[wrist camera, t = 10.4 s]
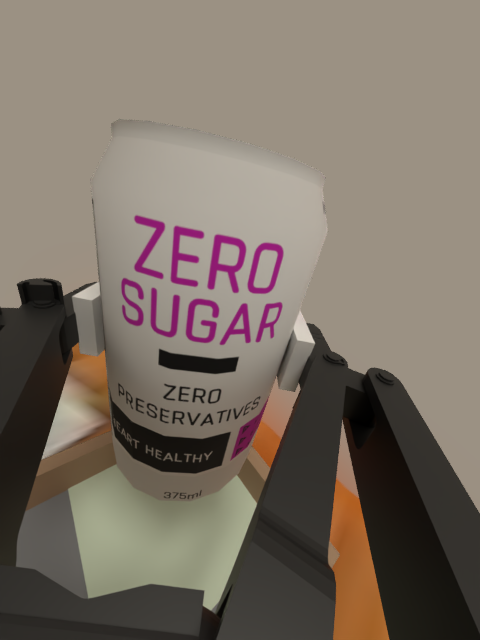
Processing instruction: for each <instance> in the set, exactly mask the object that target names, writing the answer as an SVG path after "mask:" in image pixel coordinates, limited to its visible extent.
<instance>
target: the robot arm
mask: <svg viewBox="0 0 480 640" xmlns="http://www.w3.org/2000/svg"><path fill="white" fill-rule="evenodd" d="M17 286H18V290H19V294H20V298H21V302H22V305H21V306H20V308H0V640H333V631H334V617H335V603H336V582H335V576H334V572H333V570H332V569H331V567H330V566H329V563H328V548H329V539H330V530H331V520H332V511H333V501H334V492H335V483H336V472H337V463H338V454H339V445H340V435H341V426H342V419H343V424H344V429H345V433H346V438H347V443H348V447H349V452H350V457H351V461H352V466H353V471H354V475H355V480H356V484H357V489H358V494H359V499H360V504H361V508H362V513H363V518H364V522H365V527H366V532H367V536H368V541H369V546H370V550H371V555H372V560H373V564H374V569H375V574H376V578H377V583H378V588H379V592H380V597H381V602H382V606H383V611H384V616H385V621H386V625H387V630H388V635H389V639H390V640H480V513H479V512H478V510H477V508H476V507H475V505H474V503H473V502H472V500H471V498H470V497H469V495H468V493H467V492H466V490H465V488H464V487H463V485H462V484H461V482H460V480H459V478H458V477H457V475H456V473H455V472H454V470H453V468H452V466H451V465H450V463H449V462H448V460H447V458H446V457H445V455H444V453H443V451H442V450H441V448H440V446H439V445H438V443H437V441H436V440H435V439H434V436H433V435H432V433H431V432H430V430H429V428H428V426H427V425H426V423H425V421H424V420H423V418H422V416H421V415H420V413H419V411H418V410H417V408H416V406H415V405H414V403H413V401H412V400H411V398H410V396H409V395H408V393H407V391H406V390H405V388H404V386H403V385H402V383H401V382H400V381H399V379H397V378H396V377H395V376H394V375H393V374H391V373H389V372H388V371H386V370H382V369H378V368H370V369H369V370H368V371H367V373H366V374H365V375H364V374H361V373H358V372H356V371H353V370H351V369H349V368H348V364H347V361H346V360H345V359H344V358H343V357H342V356H340V355H338V354H337V353H335V352H332V351H331V350H330V348H329V346H328V344H327V342H326V341H325V338H324V337H323V335H322V333H321V331H320V329H318V328H317V327H316V326H315V325H314V324H308V323H306V322H305V320H304V317H303V315H302V313H301V311H299V314H298V317H297V320H296V322H295V325H294V328H293V331H292V334H291V336H290V339H289V342H288V345H287V348H286V351H285V353H284V356H283V359H282V362H281V365H280V367H279V370H278V373H277V379H278V386H279V389H282V390H287V391H293V392H295V390H296V388H297V385H298V383H299V384H300V388H301V390H300V393H299V395H298V397H297V399H296V402H295V404H294V406H293V410H292V413H291V416H290V418H289V421H288V423H287V426H286V429H285V431H284V434H283V437H282V439H281V442H280V445H279V447H278V450H277V453H276V455H275V458H274V460H273V463H272V466H271V468H270V471H269V474H268V476H267V479H266V482H265V484H264V487H263V490H262V492H261V495H260V497H259V500H258V503H257V505H256V508H255V511H254V513H253V516H252V519H251V521H250V524H249V527H248V529H247V532H246V534H245V537H244V540H243V542H242V545H241V548H240V550H239V553H238V556H237V558H236V561H235V563H234V566H233V569H232V571H231V574H230V576H229V578H228V581H227V583H226V586H225V588H224V591H223V593H222V596H221V598H220V601H219V604H218V606H217V609H216V611H215V613H214V612H212V611H211V610H209V609H207V608H206V607H204V606H203V599H204V591H205V590H197V589H189V588H181V587H173V586H165V585H157V584H148V585H144V586H140V587H135V588H131V589H127V590H123V591H119V592H115V593H110V594H106V595H102V596H98V597H94V598H89V599H85V598H81V597H79V596H77V595H76V594H74V593H72V592H71V591H69V590H67V589H66V588H64V587H63V586H61V585H59V584H58V583H56V582H55V581H53V580H51V579H50V578H48V577H47V576H45V575H43V574H42V573H40V572H39V571H37V570H35V569H30V568H22V567H16V561H17V539H18V534H19V530H20V527H21V524H22V520H23V517H24V514H25V511H26V507H27V504H28V501H29V498H30V494H31V491H32V488H33V485H34V481H35V478H36V475H37V472H38V468H39V465H40V462H41V459H42V455H43V452H44V449H45V446H46V442H47V439H48V436H49V433H50V429H51V426H52V423H53V420H54V416H55V413H56V410H57V407H58V403H59V400H60V397H61V394H62V390H63V387H64V384H65V381H66V377H67V374H68V371H69V368H70V364H71V361H72V358H73V352H72V347H74V346H75V345H76V344H77V343H78V342H79V348H80V353H82V354H87V355H93V356H99V355H100V353H101V352H102V351H103V350H104V349H105V345H104V334H103V322H102V310H101V298H100V286H99V282H94V283H90V284H86V285H84V286H82V287H80V288H79V289H76V290H74V291H73V292H70V293H68V294H67V295H65V296H63V291H62V285H61V283H60V282H59V281H56V280H53V279H45V278H44V279H29V280H25V281H21V282H19V283H18V284H17Z"/></svg>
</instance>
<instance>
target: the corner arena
mask: <svg viewBox="0 0 480 640" xmlns="http://www.w3.org/2000/svg"><path fill="white" fill-rule="evenodd" d="M269 471H270V468H269V466H268V465H267V464H266V463H265V461H264V460H263V459H262V458H261V457H260V455H259V454H258V453H257V452H256V450H255V449H254V448H253V447H252V446H251V449H250V452H249V454H248V456H247V458H246V460H245V462H244V464H243V466H242V468H241V470H240V472H239V474H237V475H236V476H235V477H234V478H233V479H232V480H231V481H230V482H228V483H227V484H226V485H225V486H224V487H223V488H222V489H220V490H219V491H218V492H215V493H212V494H210V495H207V496H204V497H201V498H199V499H196V500H193V501H190V502H189V501H163V500H158V499H156V498H154V497H152V496H150V495H148V494H146V493H144V492H142V491H140V490H137V489H135V488H133V486H132V485H131V484H130V482H129V481H128V480H127V478H126V477H125V476H124V475H123V473H122V472H121V471H120V469H119V468H118V467H117V462H116V457H115V452H114V447H113V440H112V430H111V431H109V432H107V433H104V434H102V435H100V436H97V437H95V438H93V439H90V440H88V441H85V442H83V443H81V444H78V445H76V446H74V447H71V448H69V449H67V450H64V451H62V452H59V453H57V454H55V455H52V456H50V457H48V458H45V459H43V460H41V462H40V465H39V468H38V472H37V475H36V478H35V481H34V485H33V488H32V491H31V494H30V498H29V501H28V504H27V507H26V511H25V514H24V517H23V520H22V524H21V527H20V530H19V534H18V539H17V561H16V567H22V568H30V569H35V570H37V571H39V572H40V573H42V574H43V575H45V576H47V577H48V578H50V579H51V580H53V581H55V582H56V583H58V584H59V585H61V586H63V587H64V588H66V589H67V590H69V591H71V592H72V593H74V594H76V595H77V596H79V597H81V598H85V599H89V598H94V597H98V596H102V595H106V594H110V593H115V592H119V591H123V590H127V589H131V588H135V587H140V586H144V585H148V584H157V585H165V586H173V587H181V588H189V589H197V590H205V591H204V599H203V606H204V607H206V608H207V609H209V610H211V611H212V612H214V613H215V611H216V609H217V606H218V604H219V601H220V598H221V596H222V593H223V591H224V588H225V586H226V583H227V581H228V578H229V576H230V574H231V571H232V569H233V566H234V563H235V561H236V558H237V556H238V553H239V550H240V548H241V545H242V542H243V540H244V537H245V534H246V532H247V529H248V527H249V524H250V521H251V519H252V516H253V513H254V511H255V508H256V505H257V503H258V500H259V497H260V495H261V492H262V490H263V487H264V484H265V482H266V479H267V476H268V474H269ZM339 555H340V554H339V552H338V551H337V550H336V549H335V548H334V546H333V545H332V544H331V543H330V541H329V548H328V563H329V566H330V567H331V568H332V567H333V565H334V564H335V562H336V560H337V559H338V557H339Z"/></svg>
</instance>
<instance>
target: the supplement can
mask: <svg viewBox="0 0 480 640" xmlns="http://www.w3.org/2000/svg"><path fill="white" fill-rule="evenodd" d="M111 130H112V138H111V140H110V142H109V144H108V146H107V148H106V150H105V152H104V154H103V156H102V158H101V160H100V162H99V164H98V166H97V168H96V170H95V172H94V174H93V176H92V178H91V192H92V204H93V216H94V227H95V238H96V251H97V262H98V275H99V286H100V298H101V310H102V322H103V334H104V345H105V357H106V369H107V381H108V393H109V404H110V416H111V428H112V440H113V447H114V452H115V457H116V462H117V467H118V468H119V469H120V471H121V472H122V473H123V475H124V476H125V477H126V478H127V480H128V481H129V482H130V484H131V485H132V486H133V488H135V489H137V490H140V491H142V492H144V493H146V494H148V495H150V496H152V497H154V498H156V499H158V500H163V501H189V502H190V501H193V500H196V499H199V498H201V497H204V496H207V495H210V494H212V493H215V492H218V491H219V490H220V489H222V488H223V487H224V486H225V485H226V484H227V483H228V482H230V481H231V480H232V479H233V478H234V477H235V476H236V475H237V474H239V472H240V470H241V468H242V466H243V464H244V462H245V460H246V458H247V456H248V454H249V452H250V449H251V446H252V443H253V441H254V438H255V435H256V432H257V429H258V427H259V424H260V421H261V418H262V415H263V412H264V410H265V407H266V404H267V401H268V398H269V396H270V393H271V390H272V387H273V384H274V381H275V379H276V376H277V373H278V370H279V367H280V365H281V362H282V359H283V356H284V353H285V351H286V348H287V345H288V342H289V339H290V336H291V334H292V331H293V328H294V325H295V322H296V320H297V317H298V314H299V311H300V308H301V305H302V303H303V300H304V297H305V294H306V291H307V288H308V286H309V283H310V280H311V277H312V274H313V272H314V269H315V266H316V263H317V260H318V258H319V255H320V252H321V249H322V246H323V243H324V240H325V238H326V235H327V232H328V229H327V221H326V213H325V205H324V197H323V191H322V188H323V185H324V182H325V176H324V175H323V174H322V173H321V171H319V170H317V169H315V168H313V167H311V166H309V165H307V164H305V163H303V162H301V161H299V160H297V159H294V158H291V157H288V156H285V155H282V154H279V153H276V152H274V151H271V150H268V149H265V148H262V147H259V146H256V145H253V144H249V143H246V142H242V141H238V140H234V139H230V138H226V137H223V136H219V135H215V134H211V133H207V132H204V131H200V130H195V129H190V128H184V127H179V126H173V125H168V124H162V123H156V122H151V121H139V120H121V119H119V120H117V121H115V122H114V123H112V124H111Z"/></svg>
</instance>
